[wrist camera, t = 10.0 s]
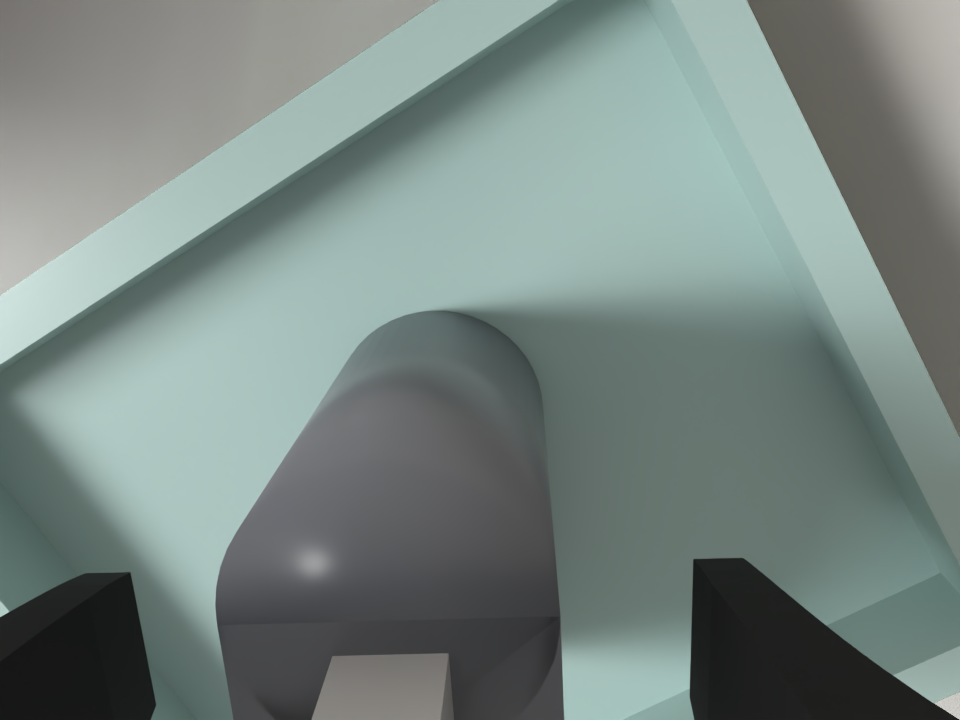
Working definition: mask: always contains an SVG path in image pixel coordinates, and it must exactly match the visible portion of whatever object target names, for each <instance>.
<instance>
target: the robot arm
mask: <svg viewBox="0 0 960 720" xmlns="http://www.w3.org/2000/svg"><path fill="white" fill-rule="evenodd" d="M690 702H691V707H692V711H693V716H694V720H959V719H957V718H956V717H954V716H953V715H951V714H949V713H948V712H946V711H945V710H943V709H942V708H940V707H939V706H937V705H935V704H934V703H932V702H931V701H929V700H928V699H926V698H925V697H923V696H922V695H921V694H919V693H918V692H916V691H915V690H913V689H912V688H910V687H909V686H908V685H906V684H905V683H903V682H902V681H900V680H899V679H897V678H896V677H895V676H893V675H892V674H890V673H889V672H887V671H886V670H884V669H883V668H882V667H880V666H879V665H877V664H876V663H875V662H873V661H872V660H871V659H869V658H868V657H867V656H865V655H864V654H863V653H861V652H860V651H858V650H857V649H856V648H855V647H853V646H852V645H851V644H849V643H848V642H847V641H845V640H844V639H843V638H841V637H840V636H839V635H838V634H836V633H835V632H834V631H833V630H831V629H830V628H829V627H827V626H826V625H825V624H824V623H822V622H821V621H820V620H819V619H817V618H816V617H815V616H814V615H812V614H811V613H810V612H809V611H808V610H806V609H805V608H804V607H803V606H801V605H800V604H799V603H798V602H797V601H795V600H794V599H793V598H792V597H791V596H789V595H788V594H787V593H786V592H785V591H783V590H782V589H781V588H780V587H779V586H777V585H776V584H775V583H774V582H773V581H771V580H770V579H769V578H768V577H767V576H765V575H764V574H763V573H762V572H760V571H759V570H758V569H757V568H756V567H754V566H753V565H752V564H751V563H749V562H748V561H747V560H745V559H744V558H711V559H693V588H692V625H691V662H690ZM155 707H156V701H155V695H154V690H153V685H152V680H151V675H150V670H149V665H148V659H147V654H146V649H145V644H144V639H143V634H142V628H141V623H140V618H139V613H138V608H137V603H136V598H135V592H134V587H133V582H132V577H131V572H115V573H84V574H82V575H80V576H77V577H75V578H73V579H70V580H68V581H66V582H64V583H62V584H60V585H58V586H56V587H54V588H52V589H50V590H48V591H46V592H45V593H43V594H41V595H39V596H37V597H35V598H33V599H32V600H30V601H28V602H26V603H24V604H23V605H21V606H19V607H17V608H15V609H14V610H12V611H10V612H8V613H7V614H5V615H3V616H1V617H0V720H151V718H152V715H153V712H154V710H155Z"/></svg>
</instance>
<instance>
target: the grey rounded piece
mask: <svg viewBox="0 0 960 720" xmlns="http://www.w3.org/2000/svg"><path fill="white" fill-rule="evenodd" d="M215 609H216V619H217V627H218V633H219V639H220V645H221V650H222V656H223V662H224V668H225V674H226V679H227V685H228V691H229V697H230V702H231V708H232V714H233V720H564V699H563V671H562V643H561V616H560V604H559V592H558V580H557V568H556V556H555V544H554V532H553V520H552V509H551V497H550V485H549V473H548V461H547V449H546V437H545V425H544V413H543V403H542V394H541V390H540V386H539V382H538V380H537V377H536V375H535V372H534V370H533V368H532V366H531V364H530V363H529V361H528V359H527V358H526V356H525V355H524V354H523V352H522V351H521V350H520V348H519V347H518V346H517V345H516V344H515V343H514V342H513V341H512V340H511V339H510V338H509V337H508V336H506V335H505V334H504V333H502V332H501V331H500V330H498V329H497V328H495V327H493V326H492V325H490V324H488V323H486V322H484V321H482V320H480V319H477V318H475V317H472V316H469V315H465V314H462V313H457V312H450V311H423V312H416V313H412V314H408V315H404V316H401V317H399V318H396V319H394V320H391V321H389V322H387V323H386V324H384V325H382V326H380V327H379V328H377V329H376V330H375V331H373V332H372V333H371V334H369V335H368V336H367V337H366V338H365V339H364V340H363V341H362V342H361V343H360V344H359V345H358V346H357V348H356V349H355V350H354V352H353V353H352V354H351V356H350V357H349V359H348V360H347V362H346V363H345V365H344V366H343V368H342V370H341V371H340V373H339V374H338V376H337V377H336V379H335V380H334V382H333V383H332V385H331V387H330V388H329V390H328V391H327V393H326V394H325V396H324V397H323V399H322V400H321V402H320V403H319V405H318V407H317V408H316V410H315V411H314V413H313V414H312V416H311V417H310V419H309V420H308V422H307V424H306V425H305V427H304V428H303V430H302V431H301V433H300V434H299V436H298V437H297V439H296V441H295V442H294V444H293V445H292V447H291V448H290V450H289V451H288V453H287V454H286V456H285V458H284V459H283V461H282V462H281V464H280V465H279V467H278V468H277V470H276V471H275V473H274V474H273V476H272V478H271V479H270V481H269V482H268V484H267V485H266V487H265V488H264V490H263V491H262V493H261V495H260V496H259V498H258V499H257V501H256V502H255V504H254V505H253V507H252V508H251V510H250V512H249V513H248V515H247V516H246V518H245V519H244V521H243V522H242V524H241V525H240V527H239V529H238V530H237V532H236V534H235V535H234V537H233V539H232V541H231V542H230V544H229V546H228V548H227V550H226V553H225V556H224V558H223V561H222V564H221V566H220V570H219V575H218V580H217V585H216V601H215Z"/></svg>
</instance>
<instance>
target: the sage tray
mask: <svg viewBox="0 0 960 720" xmlns="http://www.w3.org/2000/svg"><path fill="white" fill-rule="evenodd" d="M423 311H450V312H457V313H462V314H465V315H469V316H472V317H475V318H477V319H480V320H482V321H484V322H486V323H488V324H490V325H492V326H493V327H495V328H497V329H498V330H500V331H501V332H502V333H504V334H505V335H506V336H508V337H509V338H510V339H511V340H512V341H513V342H514V343H515V344H516V345H517V346H518V347H519V348H520V350H521V351H522V352H523V354H524V355H525V356H526V358H527V359H528V361H529V363H530V364H531V366H532V368H533V370H534V372H535V375H536V377H537V380H538V382H539V386H540V390H541V394H542V403H543V413H544V425H545V437H546V449H547V461H548V473H549V485H550V497H551V509H552V520H553V532H554V544H555V556H556V568H557V580H558V592H559V604H560V616H561V643H562V671H563V699H564V720H694V716H693V711H692V707H691V702H690V662H691V625H692V588H693V559H711V558H744V559H745V560H747V561H748V562H749V563H751V564H752V565H753V566H754V567H756V568H757V569H758V570H759V571H760V572H762V573H763V574H764V575H765V576H767V577H768V578H769V579H770V580H771V581H773V582H774V583H775V584H776V585H777V586H779V587H780V588H781V589H782V590H783V591H785V592H786V593H787V594H788V595H789V596H791V597H792V598H793V599H794V600H795V601H797V602H798V603H799V604H800V605H801V606H803V607H804V608H805V609H806V610H808V611H809V612H810V613H811V614H812V615H814V616H815V617H816V618H817V619H819V620H820V621H821V622H822V623H824V624H825V625H826V626H827V627H829V628H830V629H831V630H833V631H834V632H835V633H836V634H838V635H839V636H840V637H841V638H843V639H844V640H845V641H847V642H848V643H849V644H851V645H852V646H853V647H855V648H856V649H857V650H858V651H860V652H861V653H863V654H864V655H865V656H867V657H868V658H869V659H871V660H872V661H873V662H875V663H876V664H877V665H879V666H880V667H882V668H883V669H884V670H886V671H887V672H889V673H890V674H892V675H893V676H895V677H896V678H897V679H899V680H900V681H902V682H903V683H905V684H906V685H908V686H909V687H910V688H912V689H913V690H915V691H916V692H918V693H919V694H921V695H922V696H923V697H925V698H926V699H928V700H929V701H931V702H932V703H935V702H938V701H940V700H942V699H944V698H947V697H949V696H951V695H954V694H956V693H958V692H960V437H959V435H958V433H957V431H956V429H955V427H954V425H953V423H952V420H951V418H950V416H949V414H948V412H947V410H946V408H945V406H944V404H943V402H942V400H941V398H940V396H939V394H938V392H937V390H936V388H935V386H934V384H933V381H932V379H931V377H930V375H929V373H928V371H927V369H926V367H925V365H924V363H923V361H922V359H921V357H920V355H919V353H918V351H917V349H916V347H915V345H914V343H913V340H912V338H911V336H910V334H909V332H908V330H907V328H906V326H905V324H904V322H903V320H902V318H901V316H900V314H899V312H898V310H897V308H896V306H895V304H894V301H893V299H892V297H891V295H890V293H889V291H888V289H887V287H886V285H885V283H884V281H883V279H882V277H881V275H880V273H879V271H878V269H877V267H876V265H875V263H874V260H873V258H872V256H871V254H870V252H869V250H868V248H867V246H866V244H865V242H864V240H863V238H862V236H861V234H860V232H859V230H858V228H857V226H856V224H855V221H854V219H853V217H852V215H851V213H850V211H849V209H848V207H847V205H846V203H845V201H844V199H843V197H842V195H841V193H840V191H839V189H838V187H837V185H836V182H835V180H834V178H833V176H832V174H831V172H830V170H829V168H828V166H827V164H826V162H825V160H824V158H823V156H822V154H821V152H820V150H819V148H818V146H817V144H816V141H815V139H814V137H813V135H812V133H811V131H810V129H809V127H808V125H807V123H806V121H805V119H804V117H803V115H802V113H801V111H800V109H799V107H798V105H797V102H796V100H795V98H794V96H793V94H792V92H791V90H790V88H789V86H788V84H787V82H786V80H785V78H784V76H783V74H782V72H781V70H780V68H779V66H778V64H777V61H776V59H775V57H774V55H773V53H772V51H771V49H770V47H769V45H768V43H767V41H766V39H765V37H764V35H763V33H762V31H761V29H760V27H759V25H758V22H757V20H756V18H755V16H754V14H753V12H752V10H751V8H750V6H749V4H748V2H747V0H439V1H437V2H436V3H434V4H433V5H431V6H430V7H428V8H427V9H425V10H424V11H422V12H421V13H419V14H418V15H416V16H415V17H413V18H412V19H410V20H409V21H407V22H406V23H404V24H403V25H402V26H400V27H399V28H397V29H396V30H394V31H393V32H391V33H390V34H388V35H387V36H385V37H384V38H382V39H381V40H379V41H378V42H376V43H375V44H373V45H372V46H370V47H369V48H367V49H366V50H364V51H363V52H361V53H360V54H358V55H357V56H355V57H354V58H352V59H351V60H349V61H348V62H347V63H345V64H344V65H342V66H341V67H339V68H338V69H336V70H335V71H333V72H332V73H330V74H329V75H327V76H326V77H324V78H323V79H321V80H320V81H318V82H317V83H315V84H314V85H312V86H311V87H309V88H308V89H306V90H305V91H303V92H302V93H300V94H299V95H297V96H296V97H295V98H293V99H292V100H290V101H289V102H287V103H286V104H284V105H283V106H281V107H280V108H278V109H277V110H275V111H274V112H272V113H271V114H269V115H268V116H266V117H265V118H263V119H262V120H260V121H259V122H257V123H256V124H254V125H253V126H251V127H250V128H248V129H247V130H245V131H244V132H242V133H241V134H240V135H238V136H237V137H235V138H234V139H232V140H231V141H229V142H228V143H226V144H225V145H223V146H222V147H220V148H219V149H217V150H216V151H214V152H213V153H211V154H210V155H208V156H207V157H205V158H204V159H202V160H201V161H199V162H198V163H196V164H195V165H193V166H192V167H190V168H189V169H187V170H186V171H185V172H183V173H182V174H180V175H179V176H177V177H176V178H174V179H173V180H171V181H170V182H168V183H167V184H165V185H164V186H162V187H161V188H159V189H158V190H156V191H155V192H153V193H152V194H150V195H149V196H147V197H146V198H144V199H143V200H141V201H140V202H138V203H137V204H135V205H134V206H132V207H131V208H130V209H128V210H127V211H125V212H124V213H122V214H121V215H119V216H118V217H116V218H115V219H113V220H112V221H110V222H109V223H107V224H106V225H104V226H103V227H101V228H100V229H98V230H97V231H95V232H94V233H92V234H91V235H89V236H88V237H86V238H85V239H83V240H82V241H80V242H79V243H77V244H76V245H75V246H73V247H72V248H70V249H69V250H67V251H66V252H64V253H63V254H61V255H60V256H58V257H57V258H55V259H54V260H52V261H51V262H49V263H48V264H46V265H45V266H43V267H42V268H40V269H39V270H37V271H36V272H34V273H33V274H31V275H30V276H28V277H27V278H25V279H24V280H22V281H21V282H20V283H18V284H17V285H15V286H14V287H12V288H11V289H9V290H8V291H6V292H5V293H3V294H2V295H0V617H1V616H3V615H5V614H7V613H8V612H10V611H12V610H14V609H15V608H17V607H19V606H21V605H23V604H24V603H26V602H28V601H30V600H32V599H33V598H35V597H37V596H39V595H41V594H43V593H45V592H46V591H48V590H50V589H52V588H54V587H56V586H58V585H60V584H62V583H64V582H66V581H68V580H70V579H73V578H75V577H77V576H80V575H82V574H84V573H115V572H131V577H132V582H133V587H134V592H135V598H136V603H137V608H138V613H139V618H140V623H141V628H142V634H143V639H144V644H145V649H146V654H147V659H148V665H149V670H150V675H151V680H152V685H153V690H154V695H155V701H156V707H155V710H154V712H153V715H152V718H151V720H233V714H232V708H231V702H230V697H229V691H228V685H227V679H226V674H225V668H224V662H223V656H222V650H221V645H220V639H219V633H218V627H217V619H216V609H215V601H216V585H217V580H218V575H219V570H220V566H221V564H222V561H223V558H224V556H225V553H226V550H227V548H228V546H229V544H230V542H231V541H232V539H233V537H234V535H235V534H236V532H237V530H238V529H239V527H240V525H241V524H242V522H243V521H244V519H245V518H246V516H247V515H248V513H249V512H250V510H251V508H252V507H253V505H254V504H255V502H256V501H257V499H258V498H259V496H260V495H261V493H262V491H263V490H264V488H265V487H266V485H267V484H268V482H269V481H270V479H271V478H272V476H273V474H274V473H275V471H276V470H277V468H278V467H279V465H280V464H281V462H282V461H283V459H284V458H285V456H286V454H287V453H288V451H289V450H290V448H291V447H292V445H293V444H294V442H295V441H296V439H297V437H298V436H299V434H300V433H301V431H302V430H303V428H304V427H305V425H306V424H307V422H308V420H309V419H310V417H311V416H312V414H313V413H314V411H315V410H316V408H317V407H318V405H319V403H320V402H321V400H322V399H323V397H324V396H325V394H326V393H327V391H328V390H329V388H330V387H331V385H332V383H333V382H334V380H335V379H336V377H337V376H338V374H339V373H340V371H341V370H342V368H343V366H344V365H345V363H346V362H347V360H348V359H349V357H350V356H351V354H352V353H353V352H354V350H355V349H356V348H357V346H358V345H359V344H360V343H361V342H362V341H363V340H364V339H365V338H366V337H367V336H368V335H369V334H371V333H372V332H373V331H375V330H376V329H377V328H379V327H380V326H382V325H384V324H386V323H387V322H389V321H391V320H394V319H396V318H399V317H401V316H404V315H408V314H412V313H416V312H423Z"/></svg>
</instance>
